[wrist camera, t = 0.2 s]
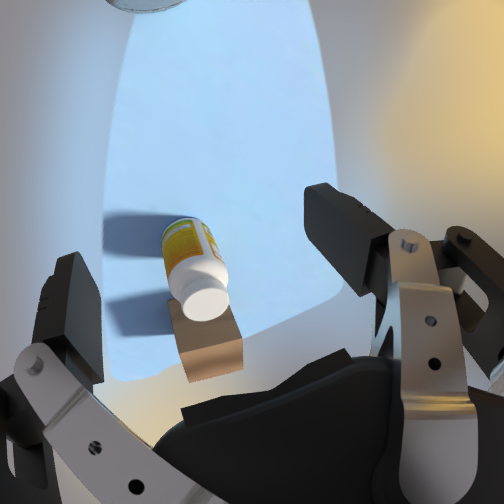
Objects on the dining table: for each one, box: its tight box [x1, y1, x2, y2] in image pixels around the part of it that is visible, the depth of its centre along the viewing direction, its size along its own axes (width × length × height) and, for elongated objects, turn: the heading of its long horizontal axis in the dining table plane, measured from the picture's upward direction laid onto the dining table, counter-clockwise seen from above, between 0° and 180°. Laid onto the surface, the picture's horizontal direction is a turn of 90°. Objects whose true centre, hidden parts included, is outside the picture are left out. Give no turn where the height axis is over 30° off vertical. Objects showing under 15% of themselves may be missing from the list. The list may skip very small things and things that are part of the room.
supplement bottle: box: [161, 218, 229, 321], centre depth 28 cm, size 5×5×10 cm
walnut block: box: [167, 299, 243, 383], centre depth 37 cm, size 7×7×8 cm
